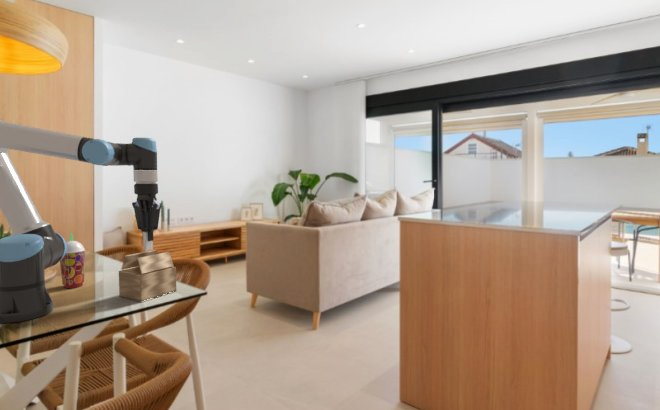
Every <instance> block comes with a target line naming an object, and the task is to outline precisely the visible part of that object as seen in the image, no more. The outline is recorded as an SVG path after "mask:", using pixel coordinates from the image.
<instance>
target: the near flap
mask: <svg viewBox="0 0 660 410" xmlns="http://www.w3.org/2000/svg"><path fill="white" fill-rule="evenodd" d="M137 260H138V263H139V266H138V267H140V270H141V273H142V274H143V273H147V272H152V271H156V270H160V269H164V268H168V267H172V266H173V267H175V266H174V263H173V260H172V257H171V253H170V251H164V252H161V253H160V252H159V253H156V254H155V255H150V256H145V257H140V258H137Z"/></svg>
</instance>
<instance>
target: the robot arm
mask: <svg viewBox="0 0 660 410" xmlns="http://www.w3.org/2000/svg"><path fill="white" fill-rule="evenodd" d="M131 140H132V141H131V142H130V143H115V142H114V143H113V142H111V141H106V140H104V139H100V138H93V137H91V138H90V137H84V136H81V135H76V134H75V135H74V134H71V133H65V132H59V131H54V130H50V129H45V128H38V127H34V126H28V125H23V124H17V123H13V122H9V121H8V122H7V121H3V120H2V119H0V211H1V213H2V215H3V216H4V219H5V220H6V222H7V224H8V226H9V228H10V229H11V234H10V236H6V237H2V238H0V324H8V323H19V322H24V321H29V320H34V319H37V318H40V317H43V316H45V315H48V314H50V313H51V312H52V311H53V309H54V302H53V300H52V299H53V298H52V297H51V296H50V294H49V291H48V289H47V286H46V281H45V278H46V277H45V274H46V273H45V270H46V269H49V268H51V267H54V266H56V265H57V264H58V263H60V260H61V259H62V258H63V257H64V255H65V253H66V250H67V245H66V242H67V241H66V240H65V238H64V237H63V236H62V235H61V234H60V233H58V232H55V230H54V229H53V226H52V224H51V223H50V222H47V221H44V220H43V219H42V217H41V215H40V213H39V211H38V209H37V207H36V205H35V203H34V202H33V199H32V198H31V196H30V195H31V194H30V193H29V192H28V190H27V188H26V186H25V184H24V181H23V180H22V178H21V177H20V174H19V172H18V170H17V168H16V167H15V164H14V163H13V161H12V159H11V157H10V155H9V152H10V150H13V151H19V152H25V153H30V154H31V153H32V154H38V155H43V156H49V157H54V158H59V159H67V160H72V161H76V162H77V161H78V162H83V163H88V164H92V165H95V166H102V167H104V166H105V167H107V166H116V167H117V166H128V167H130V166H132V167H133V171H132V172H133V182H134V184H133V194H135V195H137V197H136V201H134V202H133V201H132V203H131V206H132V207H133V210H134V216H135V220H136V225H137V226H136V227H137V230H140V231H141V232H142V233H141V234H142V241H143V251H144V252H147V251H153V250H154V242H153V241H154V232H155V231H157V230H158V228H159V222H160V221H159V220H160V213H161V208H162V207H163V205H162V203H159V202H158V201H157V200H158V199H157V196H156V195H157V194H158V193H159V184H158V182H159V181H158V151H157V141H156V140H155V139H154V138H152V137H133V138H132V139H131Z"/></svg>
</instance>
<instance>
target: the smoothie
mask: <svg viewBox="0 0 660 410" xmlns="http://www.w3.org/2000/svg"><path fill="white" fill-rule="evenodd" d="M66 245H67V250H66V253H65V255H64V257H63V258H62V259H61V260H60V261H59V266H60V273H61V280H62V281H61V282H62V285H63V287H64V288H65V289H76V288H80V287H82V286H83V284H84V282H85V269H86V267H85V264H86V248H84V245H83V244H82V243H80V242H79V241H77V240H74V237H73V233H70V240H68V241H66Z"/></svg>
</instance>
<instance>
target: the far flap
mask: <svg viewBox="0 0 660 410" xmlns="http://www.w3.org/2000/svg"><path fill="white" fill-rule="evenodd" d="M155 254H158V249H153V250H148V251H143V252H137V253H133V254H127V255H125V256H124V258H123V262H122V264H121V267H120V271H121V270H126V269H130V268H134V267H139V263H138V260H137V258H140V257H145V256H150V255H155Z"/></svg>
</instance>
